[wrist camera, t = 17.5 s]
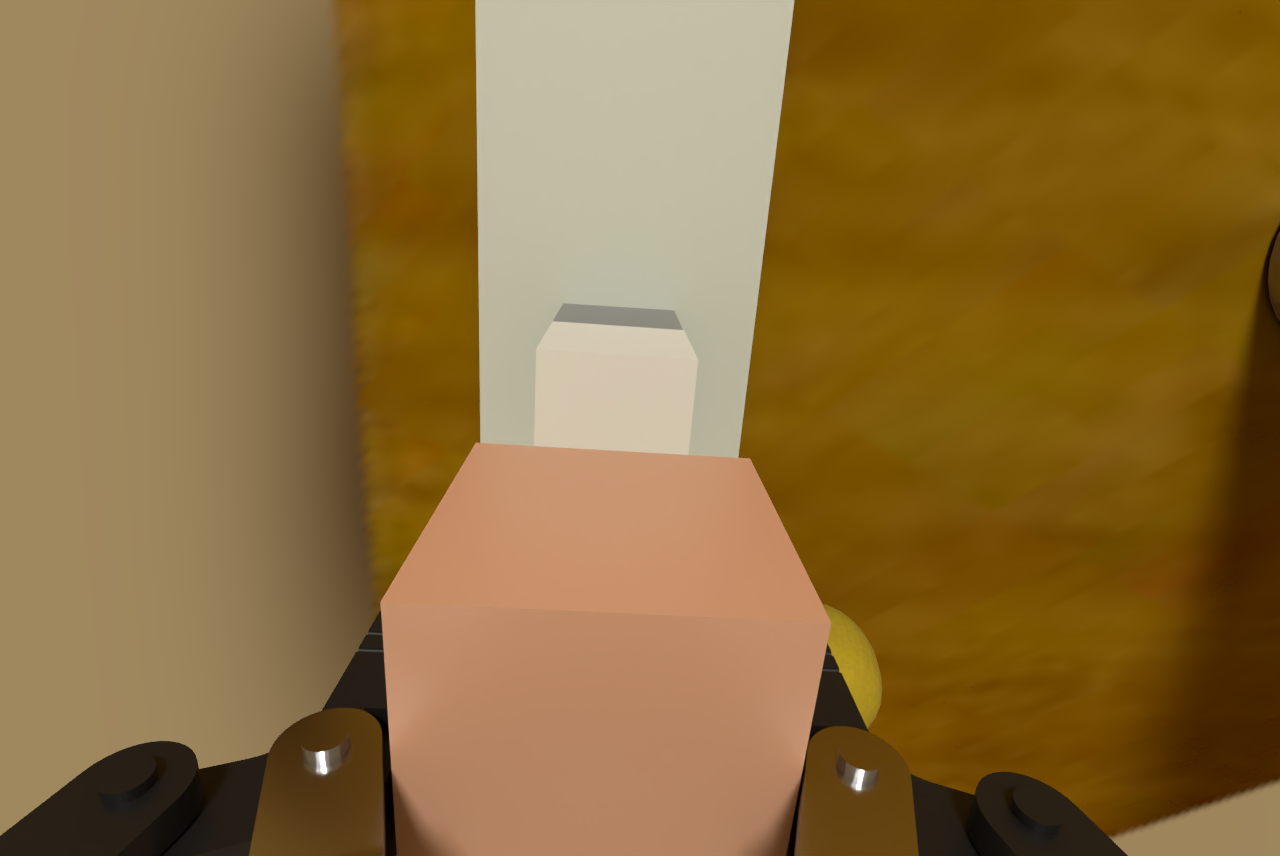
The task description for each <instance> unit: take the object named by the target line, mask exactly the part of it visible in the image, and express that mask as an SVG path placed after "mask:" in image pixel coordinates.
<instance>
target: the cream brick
mask: <svg viewBox="0 0 1280 856" xmlns="http://www.w3.org/2000/svg"><path fill="white" fill-rule="evenodd" d="M697 367H698V358H697V356H696V354H695V352H694V350H693V348H692V345H691V343H690V341H689V339H688V337H687V335H686V333H685V331H684V330H674V329H659V328H645V327H630V326H615V325H601V324H586V323H571V322H557V321H553V322H552V323H551V325H550V327H549V328H548V330H547V332H546V333H545V335H544V337H543V338H542V340H541V342H540V343H539V345H538V347H537V348H536V377H535V422H534V446H541V447H558V448H576V449H593V450H610V451H628V452H645V453H663V454H680V455H689V445H690V435H691V425H692V416H693V406H694V396H695V387H696V377H697Z"/></svg>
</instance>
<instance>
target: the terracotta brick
mask: <svg viewBox="0 0 1280 856" xmlns="http://www.w3.org/2000/svg"><path fill="white" fill-rule="evenodd" d="M381 617H382V632H383V648H384V663H385V679H386V694H387V710H388V725H389V740H390V756H391V771H392V787H393V802H394V817H395V833H396V848H397V856H786V853H787V848H788V843H789V837H790V832H791V827H792V822H793V817H794V812H795V807H796V801H797V796H798V791H799V786H800V781H801V776H802V771H803V766H804V760H805V755H806V750H807V745H808V740H809V735H810V730H811V724H812V719H813V714H814V709H815V704H816V699H817V694H818V688H819V683H820V678H821V673H822V668H823V663H824V658H825V652H826V647H827V642H828V637H829V632H830V627H831V621H830V619H829V617H828V615H827V613H826V611H825V609H824V607H823V605H822V603H821V601H820V599H819V597H818V595H817V593H816V591H815V589H814V587H813V585H812V583H811V581H810V579H809V577H808V575H807V573H806V571H805V568H804V566H803V564H802V562H801V560H800V558H799V556H798V554H797V552H796V550H795V548H794V546H793V544H792V542H791V540H790V538H789V536H788V534H787V532H786V530H785V528H784V526H783V524H782V522H781V520H780V518H779V516H778V514H777V512H776V510H775V508H774V506H773V504H772V502H771V500H770V498H769V496H768V494H767V492H766V490H765V488H764V486H763V484H762V482H761V480H760V478H759V476H758V474H757V472H756V470H755V468H754V466H753V464H752V462H751V460H750V458H733V457H715V456H698V455H680V454H663V453H645V452H628V451H610V450H593V449H576V448H558V447H541V446H523V445H506V444H488V443H476V444H475V445H474V447H473V449H472V450H471V452H470V454H469V455H468V457H467V459H466V460H465V462H464V464H463V465H462V467H461V469H460V470H459V472H458V474H457V475H456V477H455V479H454V480H453V482H452V484H451V485H450V487H449V489H448V490H447V492H446V494H445V495H444V497H443V499H442V500H441V502H440V504H439V505H438V507H437V509H436V510H435V512H434V514H433V515H432V517H431V519H430V520H429V522H428V524H427V525H426V527H425V529H424V530H423V532H422V534H421V535H420V537H419V539H418V540H417V542H416V544H415V545H414V547H413V549H412V550H411V552H410V554H409V555H408V557H407V559H406V560H405V562H404V564H403V565H402V567H401V569H400V570H399V572H398V574H397V575H396V577H395V579H394V580H393V582H392V584H391V585H390V587H389V589H388V590H387V592H386V594H385V595H384V597H383V599H382V600H381Z"/></svg>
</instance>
